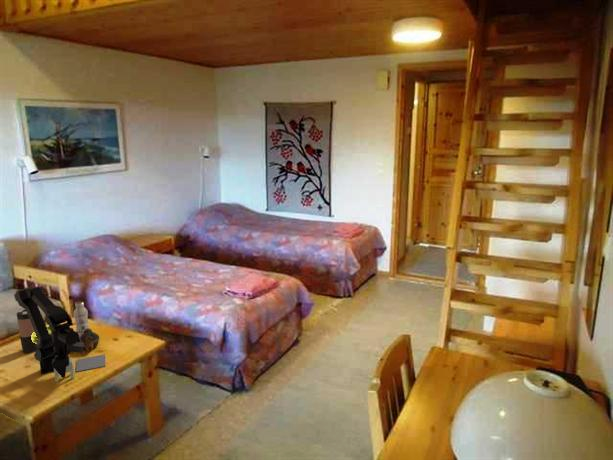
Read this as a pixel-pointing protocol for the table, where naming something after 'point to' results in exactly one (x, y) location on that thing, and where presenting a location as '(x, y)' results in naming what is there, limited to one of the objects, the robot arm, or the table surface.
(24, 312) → the travel mug
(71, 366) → the notched white block
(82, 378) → the table surface
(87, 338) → the painted clay ocarina
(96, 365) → the mat
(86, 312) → the plastic bottle
